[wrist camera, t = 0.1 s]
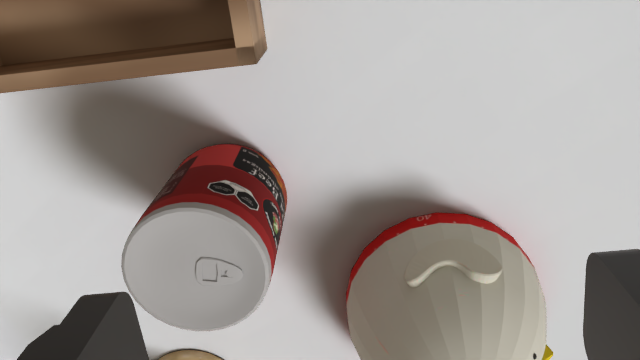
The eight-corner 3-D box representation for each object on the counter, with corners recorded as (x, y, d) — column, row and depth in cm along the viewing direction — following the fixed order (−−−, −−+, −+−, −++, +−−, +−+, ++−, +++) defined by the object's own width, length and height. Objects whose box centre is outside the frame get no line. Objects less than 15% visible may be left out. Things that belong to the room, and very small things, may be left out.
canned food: (299, 230, 43) (285, 321, 32) (192, 249, 44) (146, 343, 33) (273, 129, 40) (249, 194, 30) (160, 151, 41) (99, 221, 31)
